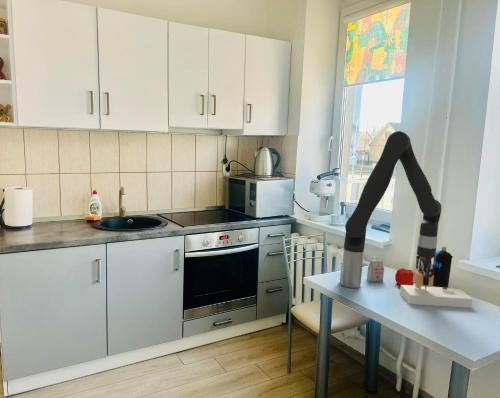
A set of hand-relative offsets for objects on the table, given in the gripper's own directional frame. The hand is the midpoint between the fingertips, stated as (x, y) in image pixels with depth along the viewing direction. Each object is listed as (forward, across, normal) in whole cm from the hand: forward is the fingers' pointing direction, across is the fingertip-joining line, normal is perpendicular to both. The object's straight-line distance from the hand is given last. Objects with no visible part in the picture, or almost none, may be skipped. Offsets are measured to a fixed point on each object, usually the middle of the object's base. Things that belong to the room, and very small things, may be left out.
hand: (422, 282), depth 172 cm
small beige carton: (+8, -22, -14) cm, 27 cm away
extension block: (+8, 0, +6) cm, 10 cm away
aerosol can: (+8, -18, +16) cm, 25 cm away
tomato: (+8, -18, -1) cm, 20 cm away
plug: (+3, 0, 0) cm, 3 cm away
